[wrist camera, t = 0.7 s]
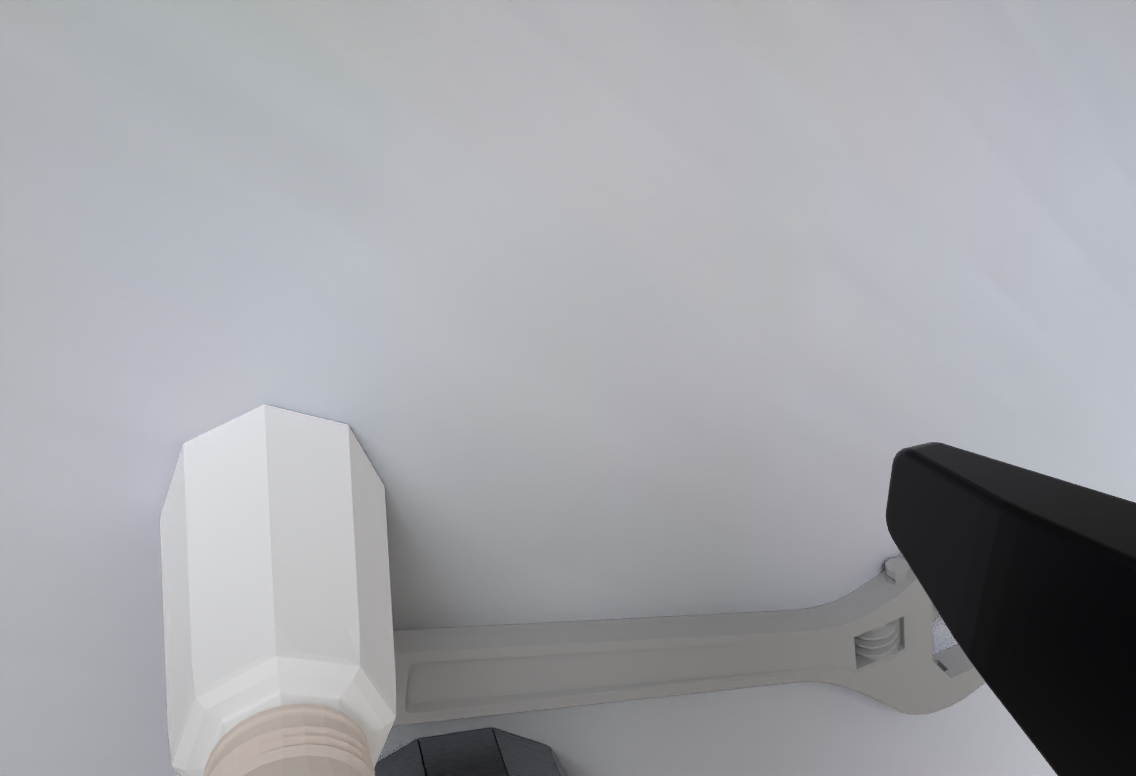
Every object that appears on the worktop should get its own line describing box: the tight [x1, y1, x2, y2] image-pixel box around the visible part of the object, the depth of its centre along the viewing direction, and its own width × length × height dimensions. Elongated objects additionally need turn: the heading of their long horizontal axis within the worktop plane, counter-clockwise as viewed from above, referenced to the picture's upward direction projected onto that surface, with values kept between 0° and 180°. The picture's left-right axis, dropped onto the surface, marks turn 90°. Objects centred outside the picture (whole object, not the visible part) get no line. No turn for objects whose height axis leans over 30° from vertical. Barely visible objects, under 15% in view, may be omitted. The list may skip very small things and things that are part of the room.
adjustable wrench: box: [392, 552, 985, 726], centre depth 28 cm, size 25×6×2 cm, turn 75°
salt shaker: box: [160, 404, 396, 776], centre depth 17 cm, size 5×5×11 cm
